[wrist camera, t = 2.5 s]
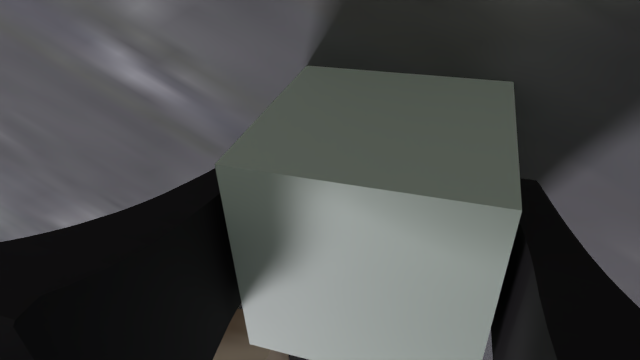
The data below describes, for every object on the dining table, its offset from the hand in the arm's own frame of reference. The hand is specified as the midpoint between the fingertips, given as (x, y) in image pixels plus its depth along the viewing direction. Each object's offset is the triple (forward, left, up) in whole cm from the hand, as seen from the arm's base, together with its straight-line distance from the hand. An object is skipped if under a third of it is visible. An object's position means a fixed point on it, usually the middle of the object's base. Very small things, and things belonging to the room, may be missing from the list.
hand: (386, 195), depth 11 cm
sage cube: (0, 0, -2) cm, 2 cm away
